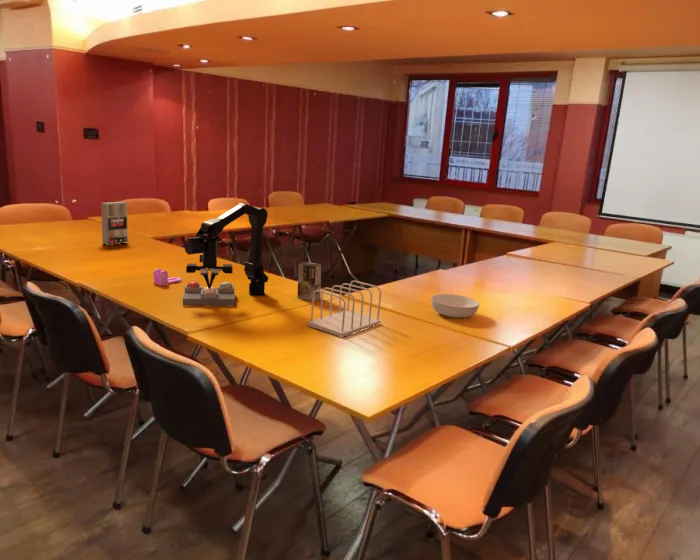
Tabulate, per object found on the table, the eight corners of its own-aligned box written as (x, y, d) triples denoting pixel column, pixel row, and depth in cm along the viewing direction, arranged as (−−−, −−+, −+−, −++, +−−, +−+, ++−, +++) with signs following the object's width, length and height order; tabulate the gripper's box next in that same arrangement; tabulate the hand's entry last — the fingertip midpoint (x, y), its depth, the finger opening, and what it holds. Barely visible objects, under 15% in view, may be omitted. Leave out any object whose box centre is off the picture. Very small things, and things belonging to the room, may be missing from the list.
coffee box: (320, 298, 258) (322, 264, 254) (314, 301, 252) (316, 266, 248) (303, 294, 262) (305, 261, 258) (296, 297, 256) (298, 263, 252)
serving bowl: (473, 325, 235) (475, 310, 233) (424, 317, 242) (426, 301, 240) (480, 312, 254) (482, 298, 252) (434, 305, 261) (436, 291, 259)
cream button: (214, 293, 240) (214, 286, 240) (214, 296, 236) (214, 289, 235) (204, 293, 239) (204, 286, 239) (203, 296, 235) (203, 289, 234)
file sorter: (342, 338, 209) (345, 298, 205) (307, 326, 219) (309, 288, 215) (380, 324, 228) (384, 287, 224) (347, 314, 238) (349, 278, 234)
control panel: (233, 294, 253) (234, 284, 252) (234, 305, 237) (234, 294, 236) (185, 294, 249) (185, 283, 247) (182, 305, 232) (182, 294, 231)
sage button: (231, 288, 250) (231, 281, 250) (231, 291, 246) (231, 284, 245) (221, 288, 249) (221, 281, 249) (220, 291, 245) (221, 284, 245)
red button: (198, 287, 247) (198, 281, 247) (198, 290, 243) (198, 284, 242) (188, 287, 246) (188, 281, 246) (187, 290, 242) (187, 283, 241)
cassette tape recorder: (108, 246, 333) (107, 204, 327) (102, 244, 336) (100, 202, 330) (128, 243, 344) (127, 202, 338) (122, 242, 347) (121, 201, 341)
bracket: (161, 286, 259) (161, 271, 257) (153, 283, 262) (153, 269, 260) (184, 281, 269) (184, 267, 268) (176, 279, 272) (176, 265, 271)
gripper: (232, 248, 243) (231, 283, 247) (187, 247, 239) (187, 283, 243) (232, 254, 232) (232, 290, 236) (186, 253, 228) (186, 290, 232)
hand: (209, 288), depth 237 cm, fingers closed, pressing on cream button
